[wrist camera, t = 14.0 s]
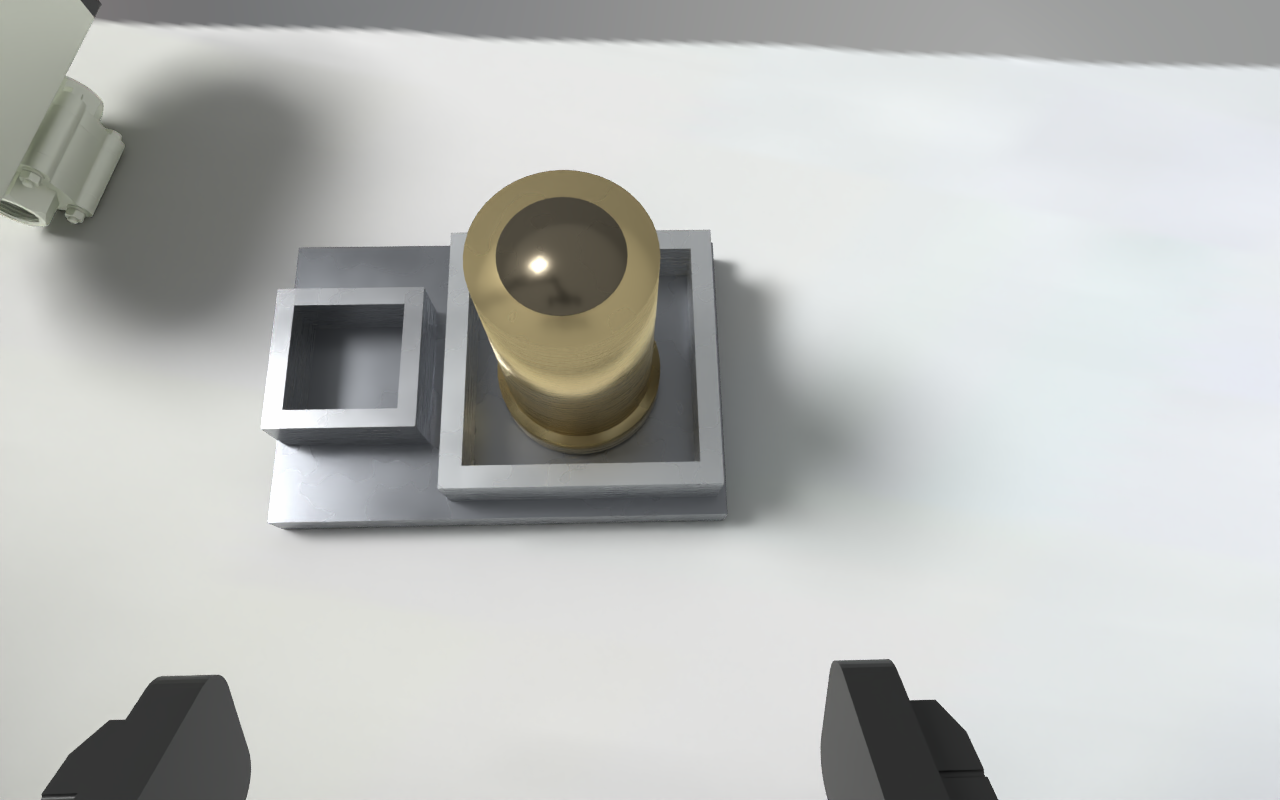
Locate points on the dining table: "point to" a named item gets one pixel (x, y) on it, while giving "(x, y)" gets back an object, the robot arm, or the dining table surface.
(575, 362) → the brass fitting
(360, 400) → the plate
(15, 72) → the pneumatic valve
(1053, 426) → the dining table surface
